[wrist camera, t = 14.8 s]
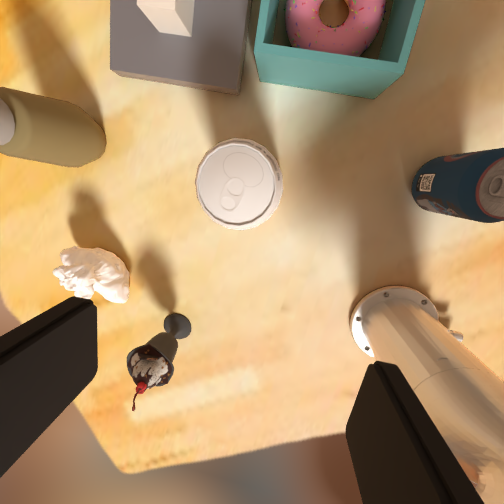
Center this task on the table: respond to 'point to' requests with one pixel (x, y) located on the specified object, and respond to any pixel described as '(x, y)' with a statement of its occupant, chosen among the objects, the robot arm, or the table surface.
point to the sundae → (157, 355)
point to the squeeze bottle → (47, 130)
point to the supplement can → (239, 183)
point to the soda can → (463, 185)
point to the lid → (180, 41)
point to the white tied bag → (93, 273)
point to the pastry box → (337, 56)
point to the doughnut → (334, 39)
